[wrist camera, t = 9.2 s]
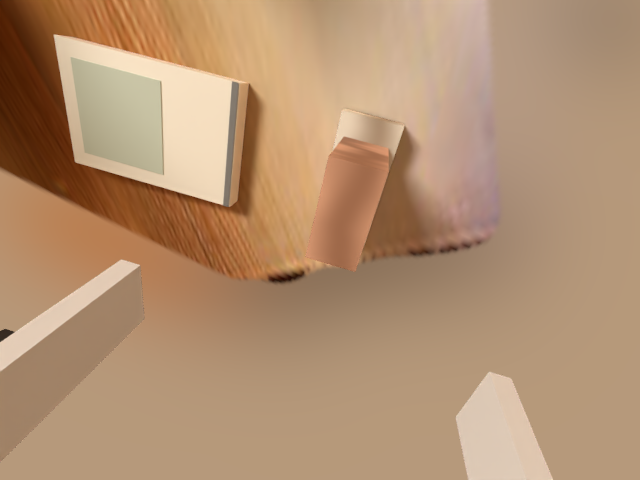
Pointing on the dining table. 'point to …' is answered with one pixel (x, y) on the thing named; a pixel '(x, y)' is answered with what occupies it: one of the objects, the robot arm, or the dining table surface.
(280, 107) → the dining table surface
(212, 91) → the white flat block
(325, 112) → the dining table surface
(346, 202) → the stub
